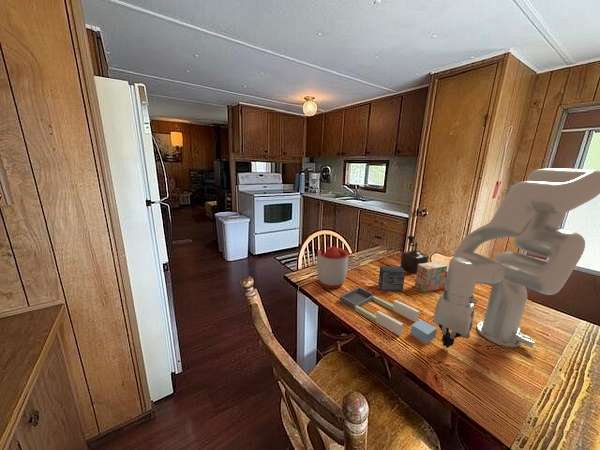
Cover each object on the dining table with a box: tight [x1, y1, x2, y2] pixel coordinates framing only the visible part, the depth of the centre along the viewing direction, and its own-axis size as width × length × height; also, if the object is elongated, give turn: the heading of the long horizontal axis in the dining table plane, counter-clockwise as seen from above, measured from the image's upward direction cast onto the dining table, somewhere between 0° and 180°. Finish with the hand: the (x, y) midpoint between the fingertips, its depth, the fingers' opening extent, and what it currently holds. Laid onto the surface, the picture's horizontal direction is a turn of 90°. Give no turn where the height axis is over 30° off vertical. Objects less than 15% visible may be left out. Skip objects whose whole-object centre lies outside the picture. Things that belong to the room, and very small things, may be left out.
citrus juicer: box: [316, 246, 350, 290], centre depth 122 cm, size 16×17×20 cm
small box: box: [378, 265, 406, 293], centre depth 119 cm, size 11×6×10 cm, turn 84°
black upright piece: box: [399, 235, 429, 274], centre depth 142 cm, size 16×11×18 cm
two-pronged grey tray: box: [339, 286, 420, 337], centre depth 101 cm, size 29×14×4 cm, turn 39°
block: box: [409, 319, 438, 345], centre depth 87 cm, size 6×6×4 cm
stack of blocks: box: [414, 261, 449, 293], centre depth 122 cm, size 21×6×12 cm, turn 108°
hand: (447, 344), depth 81 cm, fingers closed
